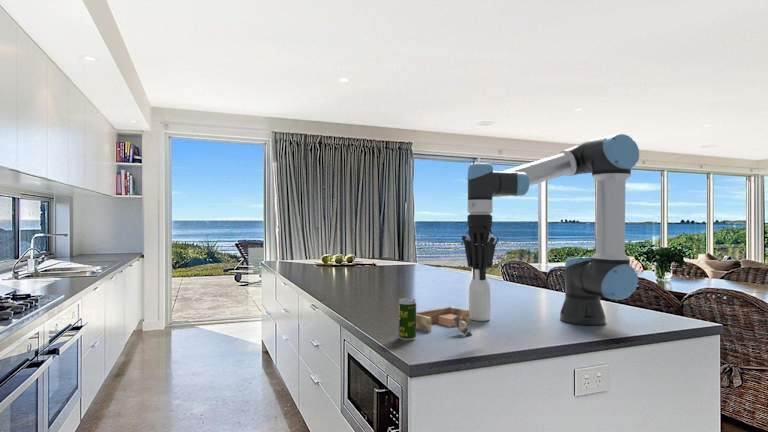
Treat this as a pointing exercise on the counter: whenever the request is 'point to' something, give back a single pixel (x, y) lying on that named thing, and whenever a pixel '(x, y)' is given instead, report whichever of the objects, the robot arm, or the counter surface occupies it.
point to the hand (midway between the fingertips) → (479, 290)
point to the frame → (431, 316)
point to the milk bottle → (479, 302)
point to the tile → (447, 320)
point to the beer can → (407, 319)
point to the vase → (462, 326)
